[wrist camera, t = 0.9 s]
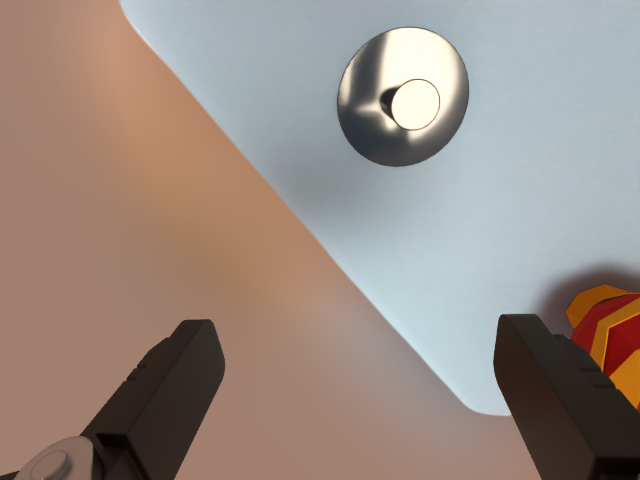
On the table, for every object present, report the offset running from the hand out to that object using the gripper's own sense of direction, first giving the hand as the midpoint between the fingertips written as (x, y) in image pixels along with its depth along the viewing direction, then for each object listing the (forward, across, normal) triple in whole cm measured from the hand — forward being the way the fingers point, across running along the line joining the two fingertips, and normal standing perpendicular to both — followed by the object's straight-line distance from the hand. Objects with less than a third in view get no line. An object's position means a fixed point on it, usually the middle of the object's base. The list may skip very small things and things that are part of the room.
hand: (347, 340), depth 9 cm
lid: (+20, -4, -5) cm, 21 cm away
